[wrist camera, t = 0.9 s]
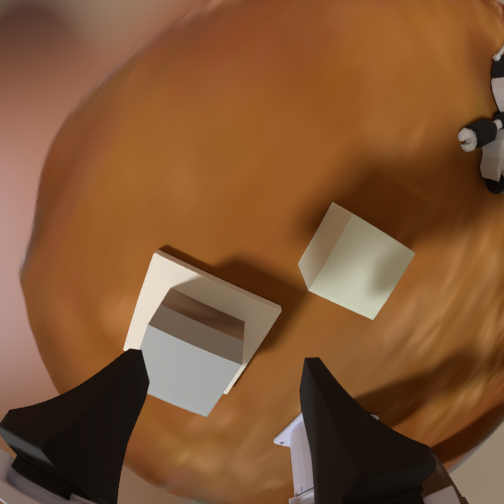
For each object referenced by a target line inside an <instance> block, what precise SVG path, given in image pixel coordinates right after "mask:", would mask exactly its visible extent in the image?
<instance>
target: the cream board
mask: <svg viewBox="0 0 504 504" xmlns="http://www.w3.org/2000/svg"><path fill="white" fill-rule="evenodd" d="M170 288H171V289H174V290H176V291H178V292H180V293H182V294H184V295H186V296H188V297H191V298H193V299H195V300H197V301H199V302H201V303H204V304H206V305H208V306H210V307H212V308H215V309H217V310H219V311H221V312H224V313H226V314H228V315H231V316H233V317H235V318H238V319H240V320H242V321H245V327H244V342H243V357H242V366H241V367H240V369H239V370H238V372H237V373H236V375H235V376H234V378H233V379H232V381H231V382H230V384H229V385H228V387H227V388H226V390H225V391H224V394H227V393H228V392H229V390H230V389H231V387H232V386H233V384H234V383H235V382H236V380H237V379H238V377H239V376H240V374H241V373H242V371H243V370H244V368H245V367H246V365H247V364H248V362H249V361H250V359H251V358H252V356H253V355H254V353H255V352H256V350H257V349H258V347H259V346H260V344H261V343H262V341H263V340H264V338H265V337H266V335H267V333H268V332H269V330H270V329H271V327H272V326H273V324H274V322H275V321H276V319H277V318H278V316H279V314H280V313H281V311H282V310H281V306H280V305H278V304H275V303H273V302H271V301H269V300H266V299H264V298H262V297H260V296H257V295H255V294H253V293H251V292H248V291H246V290H244V289H242V288H239V287H237V286H235V285H233V284H231V283H228V282H226V281H224V280H222V279H220V278H217V277H215V276H213V275H211V274H209V273H207V272H205V271H202V270H200V269H198V268H196V267H194V266H192V265H190V264H188V263H186V262H183V261H181V260H179V259H177V258H175V257H173V256H171V255H169V254H167V253H165V252H163V251H161V250H159V249H158V250H157V251H155V252H154V255H153V258H152V260H151V263H150V266H149V269H148V272H147V275H146V277H145V280H144V283H143V286H142V289H141V292H140V295H139V299H138V302H137V305H136V308H135V311H134V315H133V318H132V321H131V325H130V328H129V331H128V335H127V338H126V342H125V346H124V349H123V350H125V351H127V350H128V349H130V348H132V349H140V346H141V343H142V340H143V337H144V334H145V331H146V328H147V325H148V323H149V322H150V320H151V318H152V317H153V315H154V313H155V312H156V310H157V308H158V307H159V305H160V303H161V302H162V300H163V299H164V297H165V295H166V294H167V292H168V291H169V289H170Z"/></svg>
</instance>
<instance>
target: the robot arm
mask: <svg viewBox="0 0 504 504" xmlns="http://www.w3.org/2000/svg"><path fill="white" fill-rule="evenodd" d="M149 384H150V380H149V377H148V373H147V369H146V365H145V361H144V357H143V353H142V350H139V349H132V348H130V349H128V350H127V351H125V352H124V353H123V354H121V355H120V356H119V357H118V358H116V359H115V360H114V361H113V362H111V363H110V364H109V365H107V366H106V367H105V368H103V369H102V370H101V371H100V372H98V373H97V374H95V375H94V376H92V377H91V378H89V379H88V380H87V381H85V382H84V383H82V384H80V385H79V386H77V387H75V388H73V389H72V390H70V391H68V392H66V393H64V394H62V395H59V396H57V397H55V398H53V399H50V400H47V401H45V402H42V403H38V404H35V405H32V406H28V407H23V408H17V409H12V410H9V411H8V413H7V414H6V415H5V417H4V418H3V420H2V421H1V422H0V435H1V437H2V438H3V439H4V440H5V442H6V443H7V444H8V445H9V447H10V448H11V449H12V450H13V451H14V452H15V453H16V454H17V457H16V459H14V458H13V457H12V456H10V455H9V454H7V453H6V452H4V451H3V450H1V449H0V500H1V501H2V502H3V503H5V504H117V497H118V488H119V481H120V474H121V470H122V465H123V460H124V456H125V452H126V448H127V444H128V441H129V438H130V435H131V433H132V431H133V428H134V426H135V423H136V421H137V419H138V416H139V414H140V412H141V409H142V407H143V404H144V402H145V399H146V395H147V392H148V388H149ZM299 391H300V403H301V411H302V412H301V413H300V414H299V415H298V416H297V417H296V418H295V419H294V420H293V421H292V422H291V423H290V424H289V425H288V426H287V427H286V428H285V429H284V430H283V431H282V432H281V433H280V434H279V435H278V436H277V437H276V438H275V439H274V443H275V444H278V445H283V446H288V447H290V449H291V460H292V470H293V481H294V492H295V497H294V498H290V499H289V504H460V502H459V499H458V497H457V495H456V492H455V490H454V488H453V486H449V487H446V488H444V489H442V490H440V491H437V492H435V493H432V494H430V495H428V496H426V497H425V498H422V495H421V493H422V492H423V491H424V489H423V486H422V483H423V482H424V481H425V480H426V479H427V478H428V477H429V476H430V475H431V474H432V473H433V472H434V471H435V469H436V467H437V462H436V460H435V458H434V455H433V453H432V451H431V450H430V448H429V446H427V445H425V444H422V443H420V442H417V441H415V440H412V439H410V438H408V437H406V436H404V435H402V434H400V433H398V432H396V431H394V430H393V429H391V428H389V427H388V426H386V425H385V424H383V423H382V422H380V421H379V420H378V419H379V418H378V416H377V415H373V414H369V413H368V412H367V411H366V410H365V409H363V408H362V407H361V406H360V405H359V404H358V403H357V402H356V401H355V400H354V399H353V398H352V397H351V396H350V395H349V394H348V393H347V392H346V391H345V390H344V388H343V387H342V386H341V385H340V384H339V383H338V381H337V380H336V379H335V378H334V377H333V375H332V374H331V373H330V371H329V370H328V369H327V367H326V366H325V365H324V363H323V362H322V361H321V359H320V358H319V357H315V358H305V360H304V366H303V373H302V378H301V384H300V390H299Z"/></svg>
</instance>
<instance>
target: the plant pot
mask: <svg viewBox="0 0 504 504" xmlns="http://www.w3.org/2000/svg"><path fill="white" fill-rule="evenodd" d="M433 455H434V458H435V460H436V462H437V467H436V469H435V471H434V472H433V473H432V474H431V475H430V476H429V477H428V478H427V479H426V480H425V481H424V482H423V483H422V486H423V489H424V491H423V492H422V493H421V495H422V498H425V497H426V496H428V495H430V494H432V493H435V492H437V491H440V490H442V489H444V488H446V487H449V486H453V488H454V490H455V492H456V495H457V497H458V499H459V502H460V504H468V502H467V500H466V499H465V497H462V496H461V494H460V492H459V491H458V489H457V487H456V486H455V484H454V483H453V481H452V479H451V478H450V476H449V474H448V473H447V471H446V470H445V468H444V466H443V465H442V463H441V462H440V460H439V458H438V456H437V455H436V454H435V453H433Z"/></svg>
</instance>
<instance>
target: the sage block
mask: <svg viewBox="0 0 504 504" xmlns="http://www.w3.org/2000/svg"><path fill="white" fill-rule="evenodd" d="M414 255H415V252H413V251H412V250H410V249H409V248H407V247H406V246H404V245H403V244H401V243H399V242H398V241H396V240H395V239H393V238H392V237H390V236H389V235H387V234H385V233H384V232H382V231H381V230H379V229H378V228H376V227H374V226H373V225H371V224H369V223H368V222H366V221H364V220H363V219H361V218H360V217H358V216H356V215H355V214H353V213H351V212H349V211H348V210H346V209H344V208H342V207H341V206H339V205H337V204H335V203H334V202H332V204H331V205H330V207H329V209H328V211H327V213H326V215H325V216H324V218H323V220H322V222H321V224H320V226H319V227H318V229H317V231H316V233H315V235H314V236H313V238H312V240H311V242H310V243H309V245H308V247H307V249H306V251H305V252H304V254H303V256H302V258H301V259H300V261H299V263H298V265H299V268H300V270H301V273H302V275H303V278H304V281H305V283H306V286H307V288H308V291H310V292H312V293H315V294H317V295H319V296H321V297H323V298H326V299H328V300H330V301H332V302H334V303H337V304H339V305H341V306H343V307H345V308H348V309H350V310H352V311H354V312H356V313H359V314H361V315H363V316H365V317H367V318H370V319H372V320H373V319H374V318H375V316H376V315H377V313H378V312H379V310H380V309H381V307H382V306H383V305H384V303H385V302H386V300H387V299H388V297H389V295H390V294H391V292H392V291H393V289H394V288H395V286H396V285H397V283H398V281H399V280H400V278H401V277H402V275H403V273H404V272H405V270H406V268H407V267H408V265H409V263H410V262H411V260H412V258H413V256H414Z"/></svg>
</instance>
